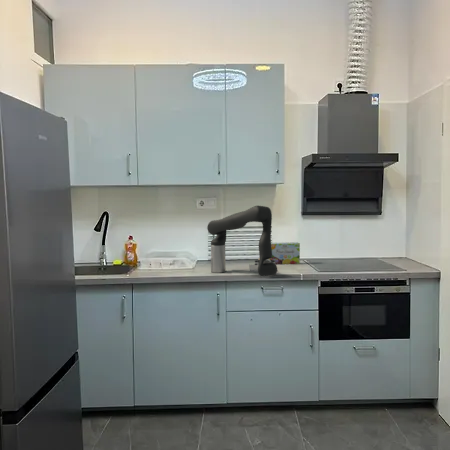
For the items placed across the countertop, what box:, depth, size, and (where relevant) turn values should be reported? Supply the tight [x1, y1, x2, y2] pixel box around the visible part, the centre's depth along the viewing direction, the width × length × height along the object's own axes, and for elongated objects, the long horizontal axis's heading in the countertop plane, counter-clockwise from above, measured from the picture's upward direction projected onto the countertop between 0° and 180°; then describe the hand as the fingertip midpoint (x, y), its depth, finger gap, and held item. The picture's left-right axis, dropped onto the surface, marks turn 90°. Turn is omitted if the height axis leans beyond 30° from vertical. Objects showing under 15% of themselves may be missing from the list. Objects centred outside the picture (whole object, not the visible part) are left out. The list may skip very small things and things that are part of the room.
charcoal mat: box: [248, 264, 279, 273], centre depth 283 cm, size 18×28×1 cm, turn 177°
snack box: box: [270, 241, 301, 265], centre depth 303 cm, size 21×6×15 cm, turn 94°
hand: (264, 260), depth 267 cm, fingers closed
